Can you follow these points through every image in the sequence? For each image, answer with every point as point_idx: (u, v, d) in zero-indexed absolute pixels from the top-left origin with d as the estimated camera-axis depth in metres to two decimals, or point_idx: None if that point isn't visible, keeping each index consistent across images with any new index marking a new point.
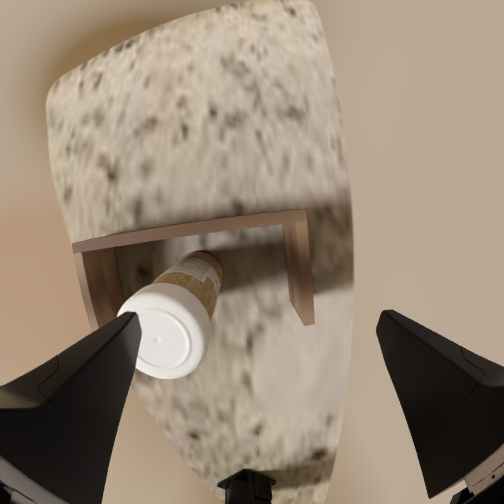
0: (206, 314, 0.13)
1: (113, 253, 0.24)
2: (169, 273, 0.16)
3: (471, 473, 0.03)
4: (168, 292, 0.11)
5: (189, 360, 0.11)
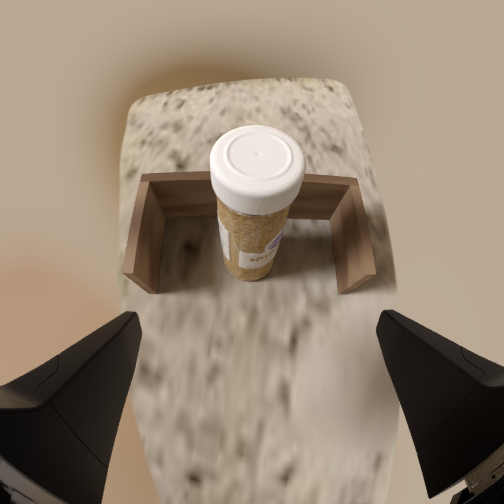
0: None
1: (163, 225, 0.25)
2: None
3: (471, 473, 0.03)
4: None
5: (288, 172, 0.12)
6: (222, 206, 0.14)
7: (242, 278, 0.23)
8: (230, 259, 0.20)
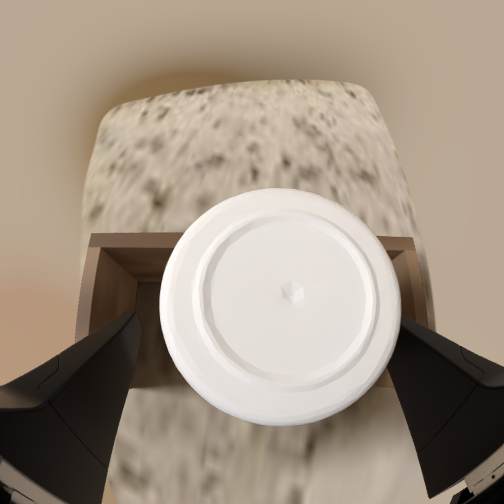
0: None
1: (135, 294, 0.17)
2: None
3: (471, 473, 0.03)
4: None
5: (368, 353, 0.04)
6: None
7: None
8: None
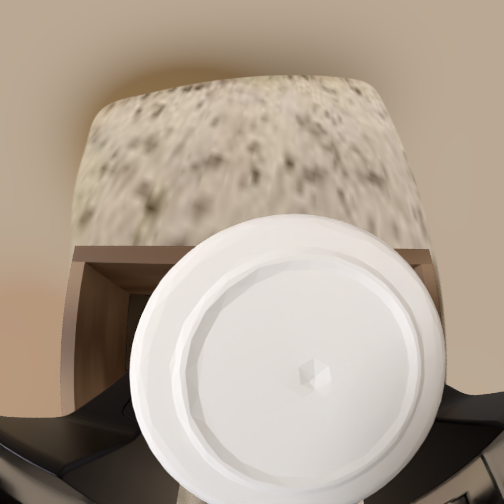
0: None
1: (126, 308, 0.16)
2: None
3: None
4: None
5: (405, 439, 0.02)
6: None
7: None
8: None
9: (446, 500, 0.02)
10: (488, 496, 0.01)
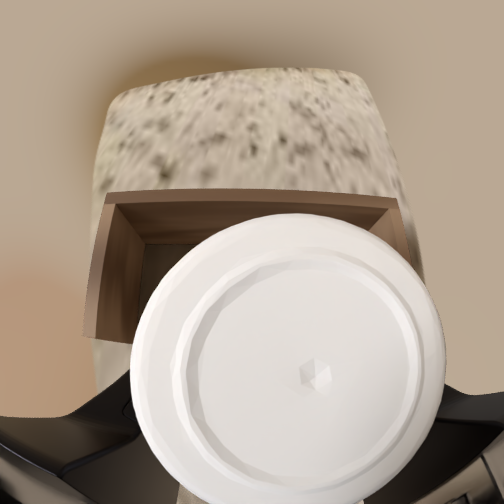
0: None
1: (142, 255, 0.19)
2: None
3: None
4: None
5: (405, 439, 0.02)
6: None
7: None
8: None
9: (446, 500, 0.02)
10: (488, 496, 0.01)
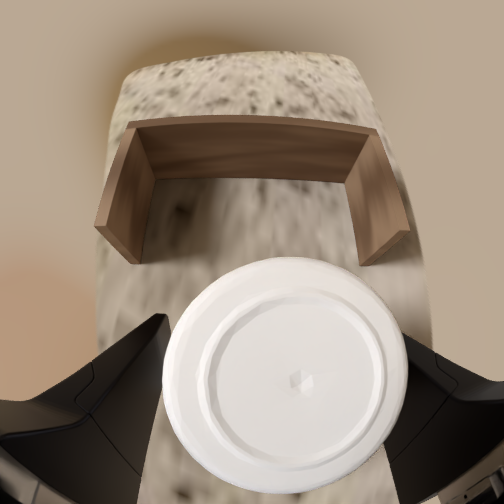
0: None
1: (152, 187, 0.21)
2: None
3: (444, 489, 0.03)
4: None
5: (371, 432, 0.04)
6: None
7: None
8: None
9: (481, 478, 0.02)
10: None
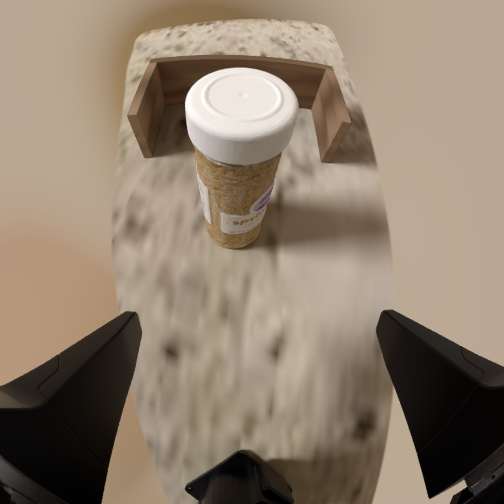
0: None
1: (163, 108, 0.25)
2: None
3: (471, 473, 0.03)
4: None
5: (277, 115, 0.09)
6: (199, 157, 0.11)
7: (226, 245, 0.21)
8: (212, 223, 0.18)
9: None
10: None
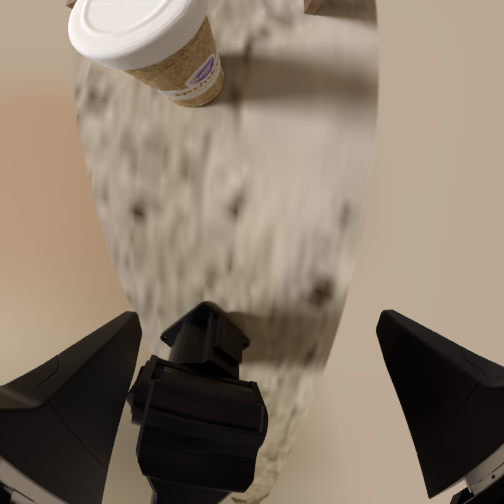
0: None
1: None
2: None
3: (471, 473, 0.03)
4: None
5: (162, 14, 0.05)
6: None
7: (184, 105, 0.17)
8: (160, 92, 0.14)
9: None
10: None
